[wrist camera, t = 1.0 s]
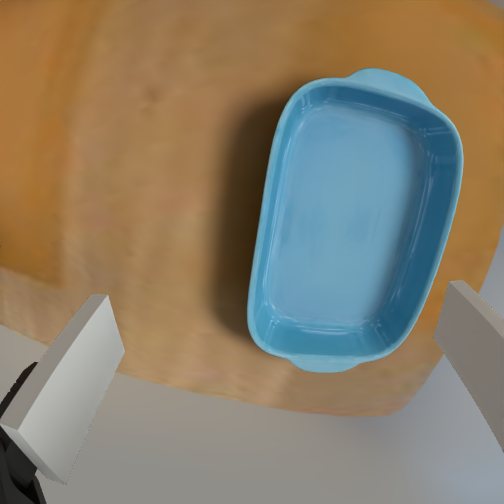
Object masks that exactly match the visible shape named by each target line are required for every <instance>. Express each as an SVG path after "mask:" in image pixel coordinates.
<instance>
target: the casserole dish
mask: <svg viewBox="0 0 504 504" xmlns="http://www.w3.org/2000/svg"><path fill="white" fill-rule="evenodd" d="M462 173H463V148H462V143H461V139H460V136H459V133H458V131H457V129H456V127H455V126H454V124H453V123H452V122H451V120H450V119H449V118H448V117H447V116H446V115H445V114H444V113H442V112H441V111H440V110H438V109H437V108H436V107H434V106H433V105H432V104H431V102H430V101H429V100H428V98H427V97H426V95H425V94H424V92H423V91H422V90H421V89H420V88H419V87H418V86H417V85H416V84H415V83H414V82H412V81H411V80H409V79H408V78H406V77H404V76H402V75H399V74H397V73H393V72H390V71H387V70H383V69H377V68H365V69H361V70H358V71H356V72H354V73H352V74H351V75H349V76H348V77H345V78H322V79H317V80H314V81H311V82H309V83H307V84H305V85H303V86H302V87H300V88H299V89H298V90H297V91H296V92H295V93H294V94H293V95H292V96H291V98H290V99H289V101H288V102H287V104H286V105H285V107H284V109H283V111H282V113H281V116H280V118H279V121H278V124H277V127H276V130H275V134H274V137H273V142H272V146H271V151H270V156H269V161H268V167H267V172H266V178H265V184H264V191H263V198H262V205H261V211H260V218H259V225H258V231H257V237H256V244H255V250H254V256H253V262H252V269H251V276H250V283H249V291H248V301H247V325H248V329H249V332H250V335H251V337H252V339H253V341H254V342H255V343H256V344H257V346H258V347H260V348H261V349H262V350H264V351H265V352H267V353H269V354H272V355H274V356H278V357H281V358H285V359H287V360H289V361H290V362H291V363H293V364H294V365H295V366H296V367H298V368H300V369H302V370H305V371H311V372H341V371H345V370H348V369H350V368H352V367H354V366H356V365H358V364H360V363H362V362H368V361H373V360H377V359H380V358H382V357H384V356H386V355H388V354H390V353H391V352H393V351H394V350H395V349H396V348H397V347H398V346H399V345H400V344H401V343H402V342H403V341H404V340H405V339H406V337H407V336H408V335H409V333H410V332H411V330H412V328H413V327H414V325H415V323H416V321H417V319H418V317H419V315H420V313H421V311H422V308H423V306H424V304H425V301H426V299H427V297H428V294H429V292H430V289H431V286H432V284H433V281H434V278H435V276H436V273H437V270H438V267H439V264H440V261H441V258H442V255H443V252H444V249H445V245H446V242H447V239H448V236H449V233H450V229H451V225H452V222H453V218H454V214H455V210H456V206H457V202H458V197H459V192H460V187H461V181H462Z"/></svg>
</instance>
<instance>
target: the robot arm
mask: <svg viewBox="0 0 504 504" xmlns="http://www.w3.org/2000/svg"><path fill="white" fill-rule="evenodd" d="M433 338H434V339H435V341H436V342H437V344H438V345H439V347H440V348H441V350H442V351H443V353H444V354H445V355H446V357H447V358H448V360H449V361H450V363H451V364H452V366H453V368H454V369H455V371H456V372H457V373H458V375H459V377H460V378H461V380H462V381H463V383H464V385H465V386H466V387H467V389H468V391H469V393H470V394H471V396H472V398H473V399H474V401H475V402H476V404H477V406H478V407H479V409H480V411H481V413H482V414H483V416H484V418H485V419H486V421H487V423H488V425H489V426H490V428H491V430H492V432H493V433H494V435H495V437H496V439H497V441H498V443H499V445H500V446H501V448H502V450H503V452H504V319H503V318H502V317H501V316H500V315H499V314H498V313H497V312H496V311H495V310H494V309H492V307H491V306H490V305H489V304H488V303H487V302H486V301H484V300H483V299H482V298H481V297H480V296H479V295H478V294H477V293H476V292H475V291H474V290H473V289H472V288H471V287H470V286H469V285H468V284H467V283H466V282H464V281H463V280H458V281H449V283H448V287H447V291H446V295H445V299H444V302H443V306H442V310H441V313H440V317H439V320H438V324H437V327H436V330H435V333H434V336H433ZM124 353H125V350H124V347H123V344H122V341H121V337H120V334H119V331H118V328H117V325H116V321H115V318H114V314H113V311H112V307H111V304H110V300H109V297H108V295H106V294H91V295H90V296H89V298H88V299H87V300H86V301H85V302H84V304H83V305H82V306H81V307H80V309H79V310H78V311H77V312H76V314H75V315H74V316H73V317H72V319H71V320H70V321H69V322H68V324H67V325H66V326H65V327H64V329H63V330H62V331H61V333H60V334H59V335H58V337H57V338H56V339H55V341H54V342H53V343H52V345H51V346H50V347H49V349H48V350H47V351H46V353H45V354H44V355H43V357H42V358H41V360H40V361H39V362H34V363H33V364H31V365H30V366H29V367H28V368H26V369H25V370H24V371H23V372H22V373H21V375H20V376H19V378H18V379H17V380H16V383H14V385H13V386H12V388H11V389H10V392H8V393H7V395H6V397H5V398H4V399H3V401H2V402H1V404H0V504H46V501H45V498H44V495H43V492H42V489H41V487H40V483H39V481H38V479H37V477H36V476H35V472H36V470H37V469H38V470H39V471H40V472H41V473H42V474H43V475H44V476H45V477H46V478H48V479H51V480H53V481H56V482H59V483H62V484H65V485H67V482H68V479H69V477H70V474H71V472H72V469H73V467H74V464H75V462H76V459H77V457H78V454H79V452H80V449H81V447H82V445H83V442H84V440H85V437H86V435H87V433H88V431H89V428H90V426H91V423H92V421H93V419H94V417H95V414H96V412H97V410H98V408H99V406H100V403H101V401H102V399H103V397H104V395H105V392H106V390H107V388H108V386H109V384H110V382H111V379H112V377H113V375H114V373H115V371H116V369H117V367H118V365H119V363H120V361H121V359H122V357H123V355H124Z"/></svg>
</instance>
